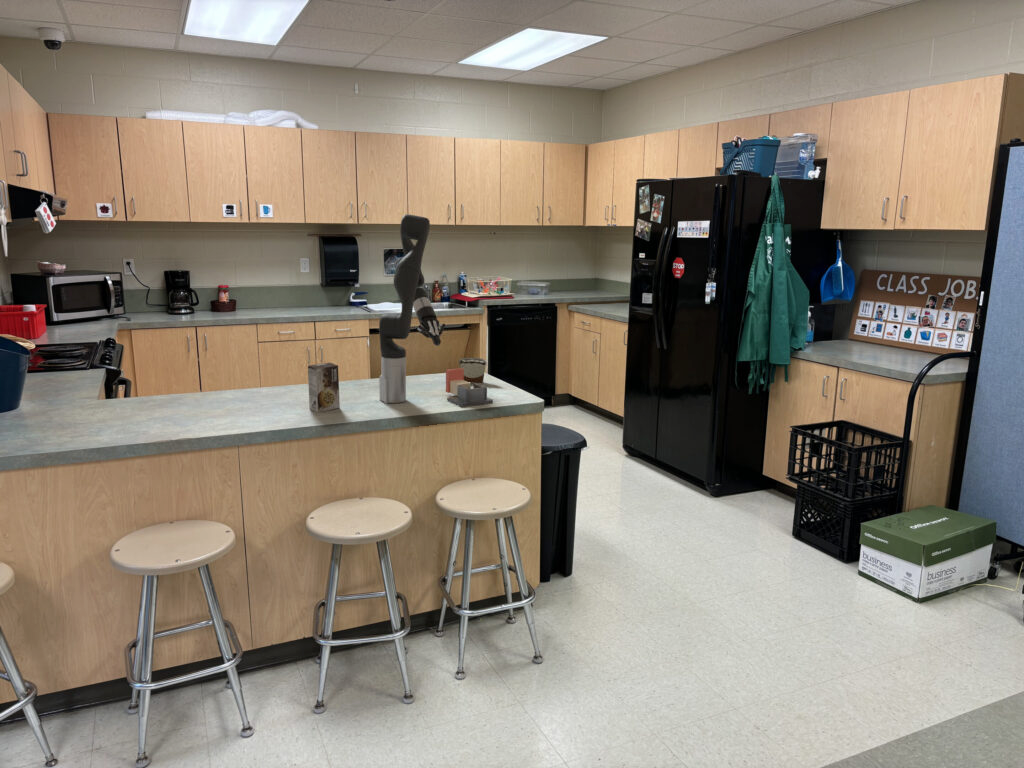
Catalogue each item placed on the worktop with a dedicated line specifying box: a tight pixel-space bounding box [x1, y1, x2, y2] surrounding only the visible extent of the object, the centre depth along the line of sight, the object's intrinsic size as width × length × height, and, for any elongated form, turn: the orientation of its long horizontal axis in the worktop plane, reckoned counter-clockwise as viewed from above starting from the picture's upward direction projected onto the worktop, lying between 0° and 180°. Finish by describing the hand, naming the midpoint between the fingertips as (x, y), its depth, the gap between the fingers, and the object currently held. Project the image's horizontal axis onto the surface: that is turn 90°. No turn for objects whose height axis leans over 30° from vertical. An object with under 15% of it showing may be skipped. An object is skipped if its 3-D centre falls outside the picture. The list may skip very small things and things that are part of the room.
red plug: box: [445, 367, 472, 396], centre depth 279 cm, size 7×9×9 cm
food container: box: [457, 357, 488, 384], centre depth 306 cm, size 12×6×10 cm, turn 84°
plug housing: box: [446, 383, 494, 408], centre depth 273 cm, size 14×11×6 cm
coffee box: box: [307, 362, 341, 413], centre depth 256 cm, size 9×6×16 cm
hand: (438, 344), depth 290 cm, fingers closed
